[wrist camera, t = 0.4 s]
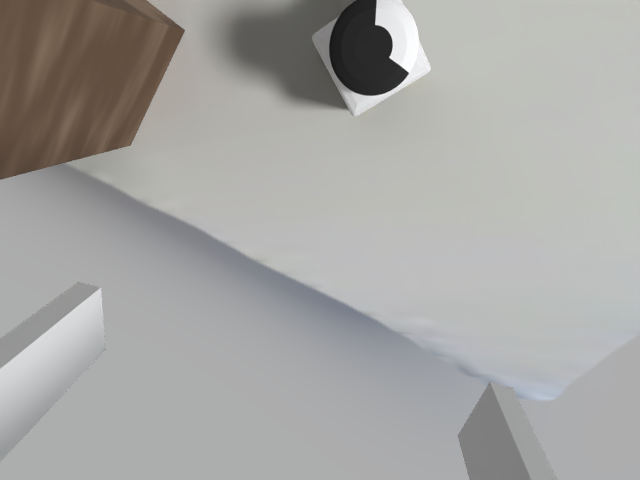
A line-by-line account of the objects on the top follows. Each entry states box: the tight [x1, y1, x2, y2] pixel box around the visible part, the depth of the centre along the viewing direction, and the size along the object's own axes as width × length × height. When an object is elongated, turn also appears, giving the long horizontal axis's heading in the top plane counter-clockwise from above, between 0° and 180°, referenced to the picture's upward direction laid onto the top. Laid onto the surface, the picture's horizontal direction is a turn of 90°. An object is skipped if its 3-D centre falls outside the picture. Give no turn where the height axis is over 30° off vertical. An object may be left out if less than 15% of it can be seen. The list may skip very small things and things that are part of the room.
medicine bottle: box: [312, 0, 430, 116], centre depth 29 cm, size 7×7×12 cm
